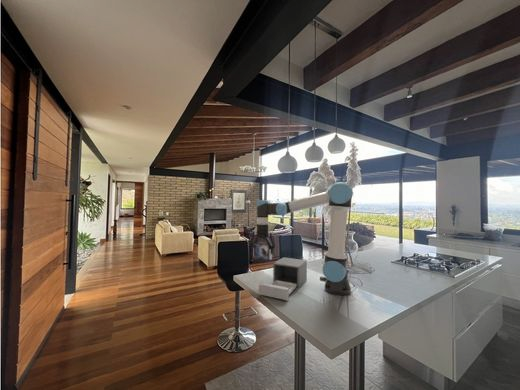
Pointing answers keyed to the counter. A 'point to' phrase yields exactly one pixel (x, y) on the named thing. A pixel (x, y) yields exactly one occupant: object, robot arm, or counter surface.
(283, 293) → the grey drawer
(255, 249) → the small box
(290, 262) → the housing
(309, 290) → the counter surface
